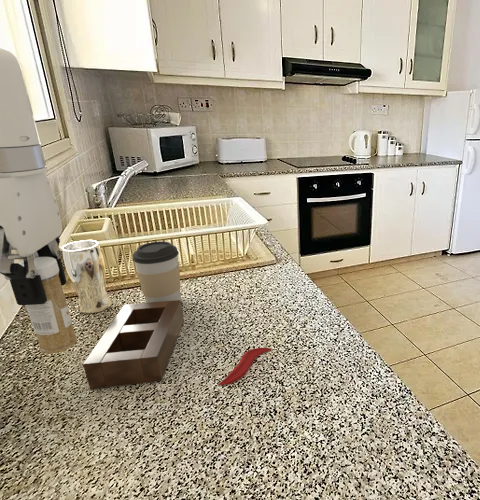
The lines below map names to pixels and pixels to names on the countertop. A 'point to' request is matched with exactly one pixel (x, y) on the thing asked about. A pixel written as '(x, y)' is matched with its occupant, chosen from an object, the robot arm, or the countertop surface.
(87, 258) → the beer glass
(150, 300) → the coffee cup
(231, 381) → the cayenne pepper
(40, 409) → the countertop surface
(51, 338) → the sprinkles bottle
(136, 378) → the holder
